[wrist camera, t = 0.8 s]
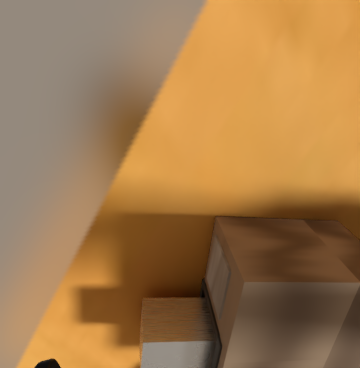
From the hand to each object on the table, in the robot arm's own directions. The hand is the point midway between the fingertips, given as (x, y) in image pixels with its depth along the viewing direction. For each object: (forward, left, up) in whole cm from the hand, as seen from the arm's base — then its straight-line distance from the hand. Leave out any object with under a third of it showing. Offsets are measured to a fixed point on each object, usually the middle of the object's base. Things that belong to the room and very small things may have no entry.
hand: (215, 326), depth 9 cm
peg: (-11, +8, -12) cm, 18 cm away
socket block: (-14, +2, -13) cm, 19 cm away
